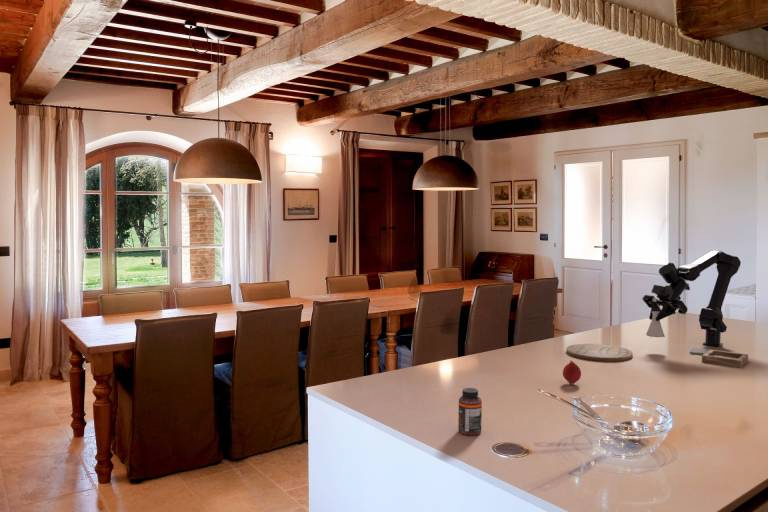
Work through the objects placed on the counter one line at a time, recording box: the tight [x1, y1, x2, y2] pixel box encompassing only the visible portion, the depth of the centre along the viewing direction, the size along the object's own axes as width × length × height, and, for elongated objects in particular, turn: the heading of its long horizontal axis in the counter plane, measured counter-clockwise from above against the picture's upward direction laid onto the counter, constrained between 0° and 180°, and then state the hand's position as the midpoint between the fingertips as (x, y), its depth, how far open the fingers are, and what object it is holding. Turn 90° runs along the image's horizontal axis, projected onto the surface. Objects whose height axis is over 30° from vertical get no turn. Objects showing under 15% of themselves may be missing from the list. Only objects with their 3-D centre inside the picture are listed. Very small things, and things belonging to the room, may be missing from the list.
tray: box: [701, 349, 749, 368], centre depth 239 cm, size 13×13×2 cm
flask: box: [645, 311, 666, 338], centre depth 254 cm, size 7×7×10 cm
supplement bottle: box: [457, 387, 483, 437], centre depth 163 cm, size 6×6×11 cm
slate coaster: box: [689, 347, 712, 356], centre depth 253 cm, size 9×9×1 cm
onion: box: [562, 359, 582, 385], centre depth 207 cm, size 6×6×8 cm
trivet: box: [566, 343, 634, 363], centre depth 250 cm, size 25×25×2 cm
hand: (653, 319), depth 253 cm, fingers closed on flask, 3 cm apart
